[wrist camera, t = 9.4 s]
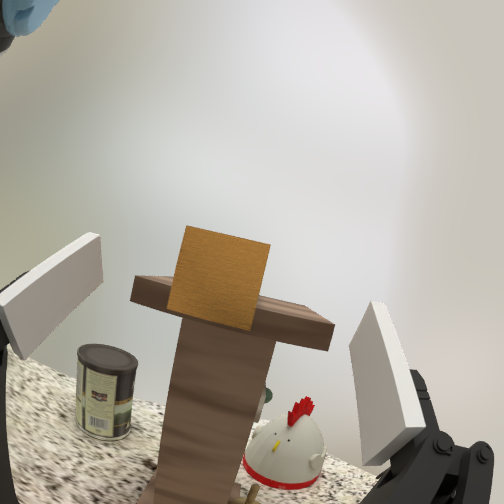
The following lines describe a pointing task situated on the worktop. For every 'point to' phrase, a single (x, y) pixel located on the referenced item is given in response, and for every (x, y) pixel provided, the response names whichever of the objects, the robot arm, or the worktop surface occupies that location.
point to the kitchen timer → (287, 450)
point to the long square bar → (218, 277)
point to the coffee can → (104, 391)
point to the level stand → (218, 394)
